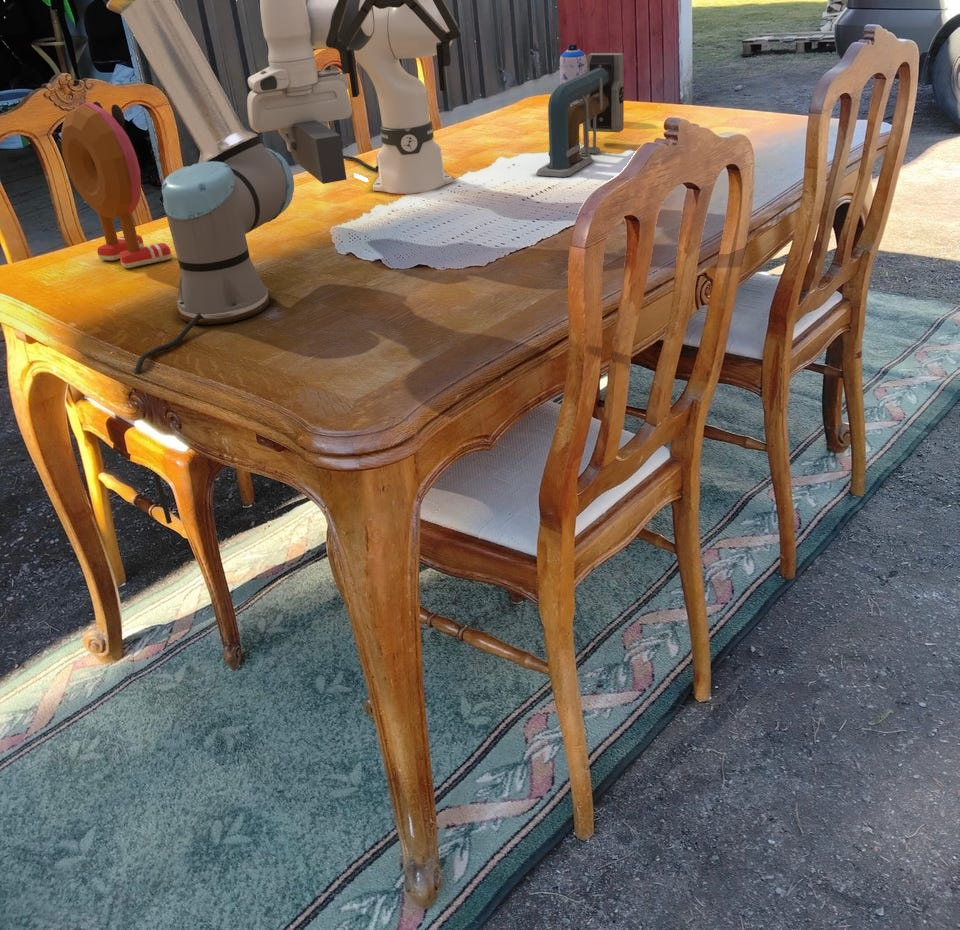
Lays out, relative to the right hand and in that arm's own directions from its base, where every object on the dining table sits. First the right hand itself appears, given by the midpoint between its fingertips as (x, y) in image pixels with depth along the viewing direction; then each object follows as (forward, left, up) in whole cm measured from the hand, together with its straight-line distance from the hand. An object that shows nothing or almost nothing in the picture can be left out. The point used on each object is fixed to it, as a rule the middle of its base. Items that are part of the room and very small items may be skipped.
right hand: (306, 148), depth 193 cm
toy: (+5, -37, -17) cm, 41 cm away
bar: (+7, +2, -3) cm, 8 cm away
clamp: (-38, +64, -17) cm, 76 cm away
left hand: (+43, +18, +16) cm, 49 cm away
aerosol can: (-83, +72, -17) cm, 111 cm away
